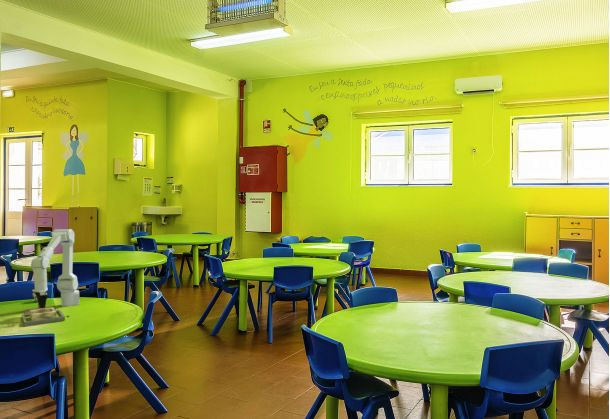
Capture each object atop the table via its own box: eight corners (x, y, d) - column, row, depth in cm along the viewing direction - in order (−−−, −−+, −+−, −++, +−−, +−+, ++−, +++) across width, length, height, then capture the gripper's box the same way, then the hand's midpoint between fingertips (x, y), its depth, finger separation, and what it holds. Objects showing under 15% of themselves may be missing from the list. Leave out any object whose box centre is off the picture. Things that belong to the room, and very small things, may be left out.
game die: (39, 308, 307) (32, 297, 300) (33, 301, 312) (25, 290, 305) (53, 298, 312) (46, 287, 305) (46, 292, 316) (40, 281, 310)
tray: (60, 313, 277) (60, 309, 277) (65, 320, 262) (64, 316, 262) (22, 318, 268) (21, 314, 267) (24, 326, 252) (24, 322, 252)
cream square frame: (53, 314, 273) (53, 306, 273) (56, 319, 263) (56, 311, 263) (30, 317, 268) (29, 309, 267) (32, 322, 257) (31, 314, 257)
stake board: (53, 307, 291) (52, 295, 291) (56, 313, 278) (56, 301, 277) (22, 311, 283) (22, 299, 283) (25, 317, 270) (24, 305, 269)
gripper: (30, 279, 272) (32, 304, 273) (33, 283, 260) (34, 310, 261) (45, 277, 276) (46, 303, 277) (48, 282, 264) (50, 308, 264)
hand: (41, 306), depth 269 cm, fingers open, 7 cm apart
